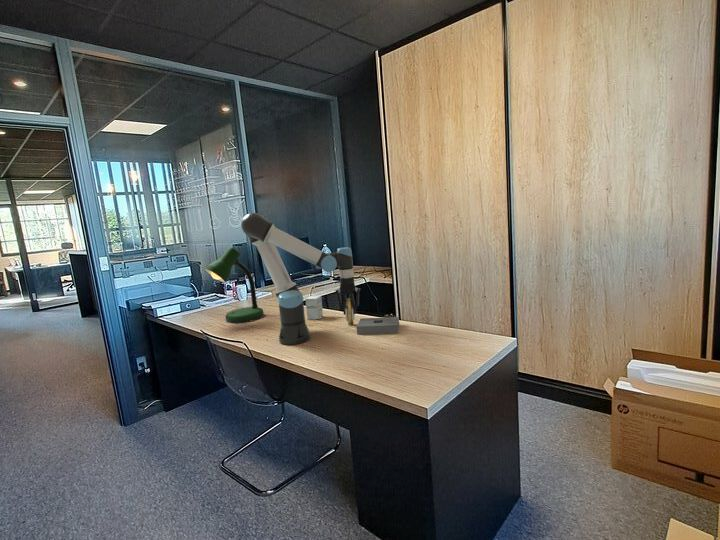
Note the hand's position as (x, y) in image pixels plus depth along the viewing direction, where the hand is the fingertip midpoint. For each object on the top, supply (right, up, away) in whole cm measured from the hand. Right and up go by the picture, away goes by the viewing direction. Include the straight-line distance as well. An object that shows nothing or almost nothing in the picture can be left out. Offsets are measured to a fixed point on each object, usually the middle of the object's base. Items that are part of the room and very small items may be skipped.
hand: (350, 320), depth 200 cm
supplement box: (-21, -2, +20) cm, 29 cm away
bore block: (+15, -3, -12) cm, 19 cm away
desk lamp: (-70, -4, +31) cm, 77 cm away
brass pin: (0, -3, 0) cm, 3 cm away
